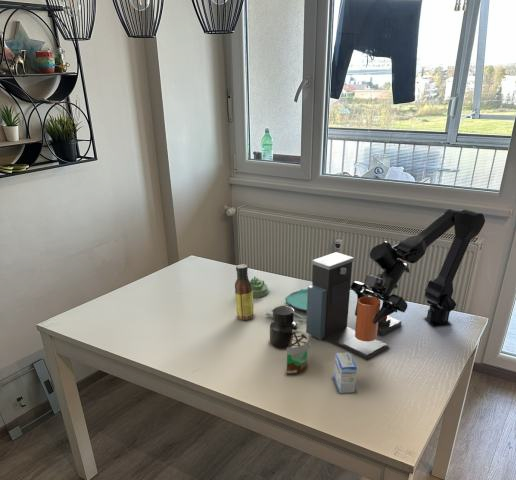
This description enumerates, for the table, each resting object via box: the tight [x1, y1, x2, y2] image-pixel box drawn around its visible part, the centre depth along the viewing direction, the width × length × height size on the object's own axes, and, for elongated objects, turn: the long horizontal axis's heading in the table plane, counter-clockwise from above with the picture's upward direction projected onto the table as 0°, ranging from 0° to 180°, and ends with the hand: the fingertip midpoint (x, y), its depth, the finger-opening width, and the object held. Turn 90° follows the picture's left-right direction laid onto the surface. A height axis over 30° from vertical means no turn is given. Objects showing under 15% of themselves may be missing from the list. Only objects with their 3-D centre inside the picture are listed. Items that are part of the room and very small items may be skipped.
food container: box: [285, 329, 311, 376], centre depth 146 cm, size 12×6×10 cm, turn 168°
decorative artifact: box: [249, 275, 269, 299], centre depth 197 cm, size 10×7×10 cm
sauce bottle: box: [234, 263, 255, 321], centre depth 174 cm, size 7×6×20 cm
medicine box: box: [333, 352, 358, 394], centre depth 138 cm, size 8×4×9 cm, turn 5°
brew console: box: [377, 315, 402, 337], centre depth 170 cm, size 11×10×4 cm
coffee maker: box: [305, 251, 390, 361], centre depth 156 cm, size 14×25×26 cm, turn 41°
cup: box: [354, 295, 381, 342], centre depth 153 cm, size 7×7×12 cm
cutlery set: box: [264, 288, 308, 326], centre depth 184 cm, size 20×30×2 cm, turn 136°
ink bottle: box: [269, 305, 298, 350], centre depth 159 cm, size 10×9×12 cm
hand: (364, 319), depth 152 cm, fingers closed on cup, 7 cm apart
